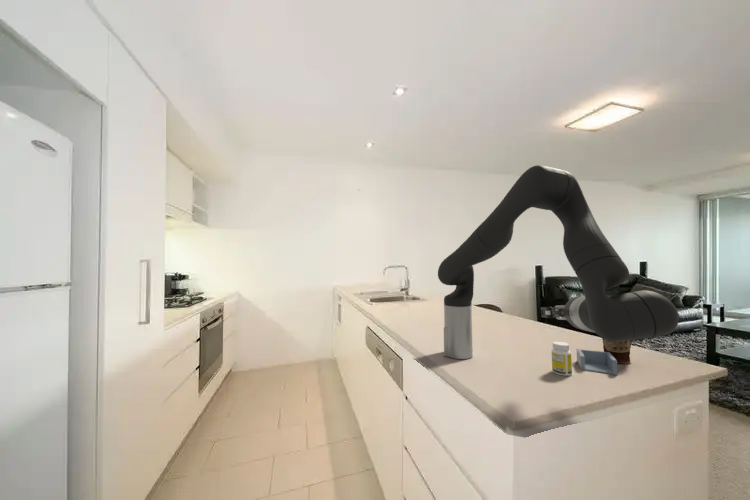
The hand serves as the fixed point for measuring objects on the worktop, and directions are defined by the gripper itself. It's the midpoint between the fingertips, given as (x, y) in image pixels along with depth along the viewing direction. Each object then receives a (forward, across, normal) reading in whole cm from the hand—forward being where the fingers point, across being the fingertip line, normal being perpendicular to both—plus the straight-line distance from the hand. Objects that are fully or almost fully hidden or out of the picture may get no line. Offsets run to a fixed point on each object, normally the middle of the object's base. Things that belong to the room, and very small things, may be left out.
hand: (567, 311), depth 75 cm
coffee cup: (+28, -19, +16) cm, 38 cm away
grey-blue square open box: (+19, -10, +17) cm, 27 cm away
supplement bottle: (+11, +1, +18) cm, 21 cm away
